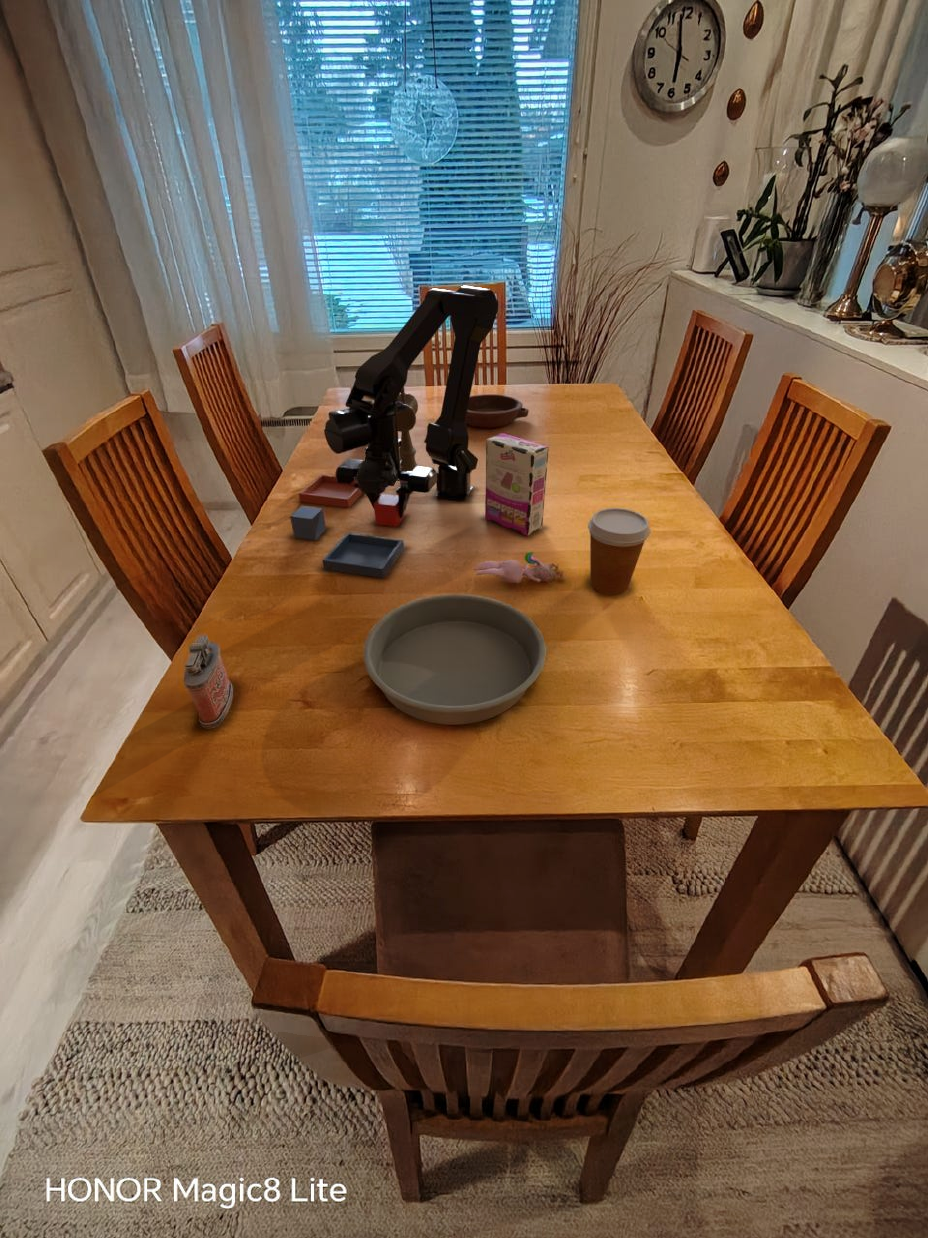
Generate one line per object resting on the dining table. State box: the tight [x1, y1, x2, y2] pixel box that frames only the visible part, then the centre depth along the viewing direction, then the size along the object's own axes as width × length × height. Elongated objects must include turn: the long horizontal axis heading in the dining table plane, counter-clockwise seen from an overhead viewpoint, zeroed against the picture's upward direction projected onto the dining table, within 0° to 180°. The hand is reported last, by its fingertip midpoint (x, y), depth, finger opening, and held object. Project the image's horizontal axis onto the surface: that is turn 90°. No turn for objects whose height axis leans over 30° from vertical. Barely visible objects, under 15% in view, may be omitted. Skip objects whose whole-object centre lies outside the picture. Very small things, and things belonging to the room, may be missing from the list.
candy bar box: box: [484, 432, 550, 537], centre depth 111 cm, size 11×5×16 cm, turn 47°
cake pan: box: [362, 593, 547, 726], centre depth 81 cm, size 25×25×4 cm
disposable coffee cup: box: [587, 507, 651, 596], centre depth 95 cm, size 10×10×12 cm
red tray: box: [298, 474, 364, 509], centre depth 127 cm, size 11×10×2 cm
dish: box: [465, 393, 530, 429], centre depth 162 cm, size 18×22×5 cm
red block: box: [373, 493, 406, 528], centre depth 116 cm, size 4×4×4 cm
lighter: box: [183, 634, 234, 730], centre depth 74 cm, size 8×3×10 cm, turn 5°
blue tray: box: [322, 532, 405, 579], centre depth 105 cm, size 11×10×2 cm
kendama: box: [397, 386, 419, 471], centre depth 131 cm, size 6×10×20 cm, turn 179°
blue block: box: [289, 505, 327, 541], centre depth 112 cm, size 4×4×4 cm
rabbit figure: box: [473, 551, 564, 585], centre depth 98 cm, size 6×6×15 cm
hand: (389, 515), depth 117 cm, fingers closed on red block, 4 cm apart
